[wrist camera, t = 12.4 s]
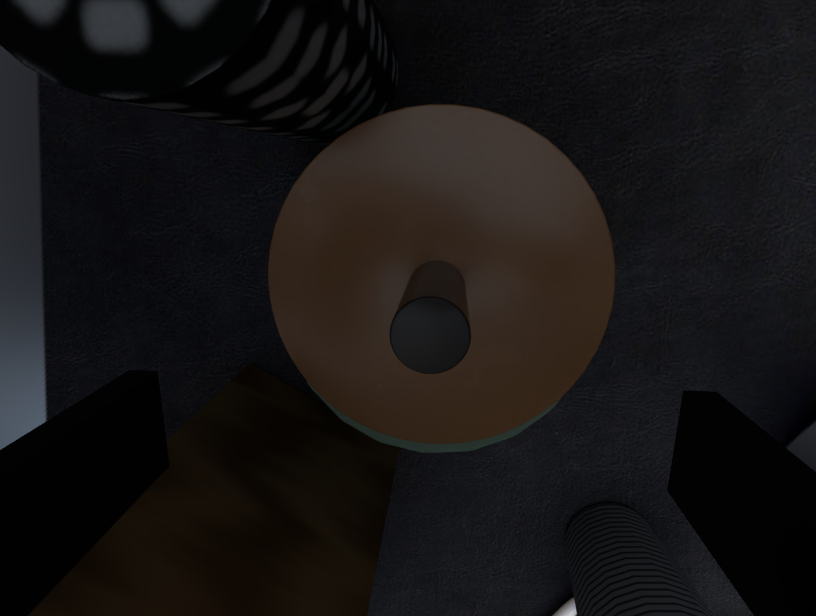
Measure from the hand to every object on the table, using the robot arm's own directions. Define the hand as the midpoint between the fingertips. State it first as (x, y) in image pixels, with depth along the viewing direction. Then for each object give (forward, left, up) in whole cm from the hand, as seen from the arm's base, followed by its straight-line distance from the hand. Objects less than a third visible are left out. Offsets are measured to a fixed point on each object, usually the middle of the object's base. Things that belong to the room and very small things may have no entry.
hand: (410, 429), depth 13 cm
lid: (0, +1, -11) cm, 11 cm away
